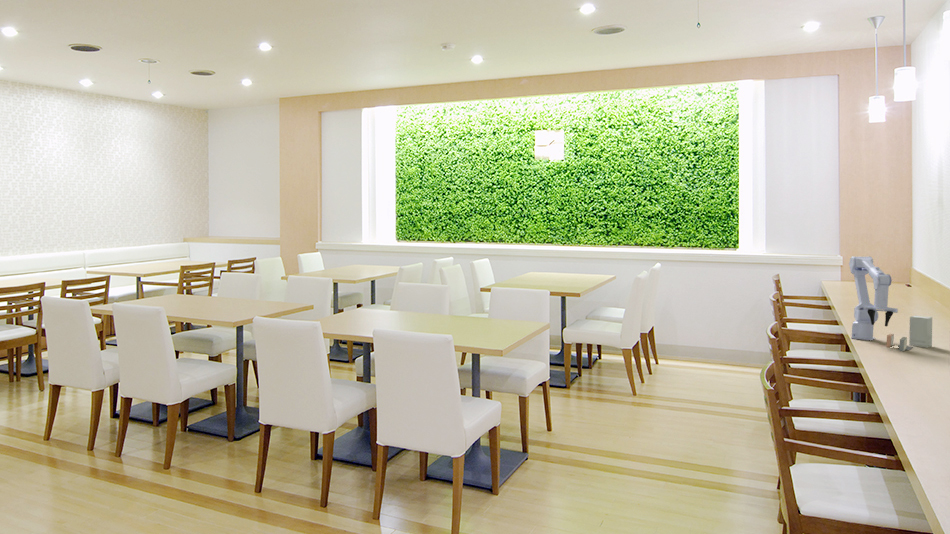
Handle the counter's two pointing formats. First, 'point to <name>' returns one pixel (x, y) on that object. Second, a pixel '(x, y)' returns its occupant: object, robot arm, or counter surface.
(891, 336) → the terracotta tile
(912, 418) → the counter surface
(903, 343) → the slate tile
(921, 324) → the skincare box
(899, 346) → the rubber mat
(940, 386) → the counter surface
